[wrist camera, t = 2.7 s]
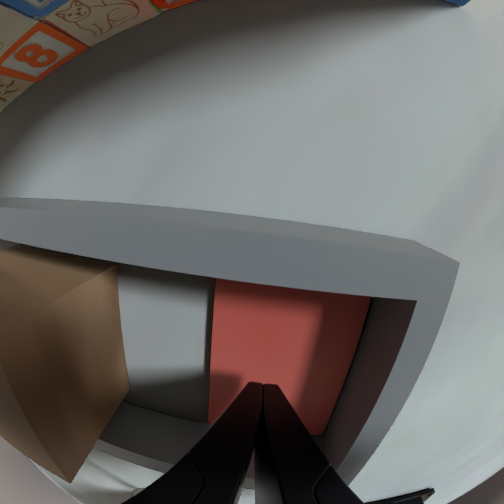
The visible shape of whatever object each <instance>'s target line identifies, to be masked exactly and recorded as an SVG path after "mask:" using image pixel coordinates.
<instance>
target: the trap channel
mask: <svg viewBox="0 0 504 504" xmlns="http://www.w3.org/2000/svg"><path fill="white" fill-rule="evenodd" d="M0 239H2V240H7V241H11V242H16V243H21V244H25V245H30V246H35V247H40V248H45V249H50V250H55V251H60V252H65V253H70V254H75V255H80V256H86V257H91V258H97V259H102V260H108V261H113V262H119V263H125V264H131V265H137V266H143V267H149V268H155V269H161V270H167V271H174V272H180V273H186V274H193V275H200V276H207V277H213V278H216V285H215V298H214V313H213V328H212V345H211V364H210V386H209V413H208V424H205V423H200V422H195V421H190V420H186V419H181V418H177V417H173V416H169V415H165V414H161V413H158V412H154V411H151V410H147V409H144V408H140V407H137V406H134V405H131V404H128V403H125V402H121V404H120V405H119V407H118V409H117V410H116V412H115V413H114V415H113V416H112V418H111V419H110V421H109V423H108V424H107V426H106V427H105V429H104V430H103V432H102V434H101V435H100V437H99V438H98V440H97V442H96V443H95V445H94V446H93V447H94V448H96V449H99V450H101V451H103V452H106V453H108V454H110V455H113V456H115V457H118V458H121V459H123V460H126V461H129V462H131V463H134V464H137V465H140V466H143V467H146V468H149V469H153V470H156V471H159V472H163V473H166V472H167V471H168V470H170V469H171V468H172V467H173V466H174V465H175V464H176V463H177V462H178V461H179V460H180V459H181V458H182V457H183V456H184V455H185V454H186V453H187V452H188V451H189V450H190V449H191V448H192V447H193V445H194V444H195V443H196V442H197V441H198V440H199V439H200V438H201V437H202V436H203V435H204V433H205V432H206V431H207V430H208V429H209V428H210V427H211V426H212V425H213V423H214V422H215V421H216V420H217V419H218V418H219V417H220V415H221V414H222V413H223V412H224V411H225V410H226V408H227V407H228V406H229V405H230V404H231V402H232V401H233V400H234V399H235V398H236V396H237V395H238V394H239V393H240V392H241V390H242V389H243V388H244V387H245V386H246V384H247V383H248V382H250V381H252V382H260V383H262V384H263V385H264V384H265V383H269V384H277V385H278V386H279V387H280V389H281V390H282V392H283V393H284V395H285V396H286V398H287V400H288V401H289V403H290V404H291V406H292V407H293V409H294V410H295V412H296V413H297V415H298V416H299V418H300V419H301V421H302V422H303V424H304V425H305V427H306V428H307V430H308V431H309V433H310V434H311V436H312V437H313V439H314V440H315V442H316V443H317V444H318V446H319V447H320V449H321V450H322V452H323V453H324V454H325V456H326V457H327V459H328V460H329V462H330V463H331V465H332V466H333V467H334V468H335V470H336V471H337V473H338V474H339V475H340V477H341V478H342V479H343V480H344V482H345V483H346V484H347V485H349V484H350V483H351V482H352V480H353V479H354V478H355V477H356V476H357V474H358V473H359V472H360V470H361V469H362V468H363V467H364V465H365V464H366V463H367V461H368V460H369V458H370V457H371V456H372V454H373V453H374V452H375V450H376V449H377V447H378V446H379V444H380V443H381V441H382V440H383V438H384V437H385V435H386V434H387V432H388V431H389V429H390V427H391V426H392V424H393V423H394V421H395V419H396V418H397V416H398V414H399V413H400V411H401V409H402V407H403V406H404V404H405V402H406V400H407V398H408V396H409V395H410V393H411V391H412V389H413V387H414V385H415V383H416V381H417V379H418V377H419V375H420V373H421V371H422V369H423V366H424V364H425V362H426V360H427V358H428V355H429V353H430V351H431V348H432V346H433V343H434V341H435V339H436V336H437V333H438V331H439V328H440V326H441V323H442V320H443V317H444V314H445V312H446V309H447V306H448V302H449V299H450V296H451V293H452V290H453V286H454V283H455V279H456V275H457V272H458V268H459V264H460V262H458V261H456V260H454V259H452V258H450V257H448V256H445V255H443V254H441V253H439V252H437V251H435V250H433V249H431V248H429V247H426V246H424V245H422V244H420V243H418V242H416V241H412V240H407V239H401V238H396V237H390V236H384V235H378V234H372V233H366V232H360V231H353V230H347V229H341V228H334V227H327V226H321V225H314V224H307V223H299V222H292V221H285V220H277V219H270V218H262V217H254V216H245V215H237V214H228V213H219V212H210V211H201V210H191V209H181V208H170V207H160V206H148V205H136V204H123V203H110V202H95V201H78V200H60V199H37V198H1V197H0ZM371 296H372V297H373V299H372V303H371V307H370V310H369V314H368V317H367V321H366V324H365V327H364V331H363V334H362V337H361V340H360V343H359V346H358V349H357V352H356V355H355V358H354V361H353V364H352V366H351V369H350V372H349V374H348V377H347V380H346V382H345V385H344V387H343V390H342V392H341V395H340V397H339V400H338V402H337V405H336V407H335V409H334V412H333V414H332V416H331V418H330V421H329V423H328V425H327V427H326V429H325V432H324V434H323V435H322V433H323V431H324V428H325V426H326V424H327V422H328V420H329V417H330V415H331V413H332V410H333V408H334V406H335V403H336V401H337V398H338V396H339V394H340V391H341V388H342V386H343V383H344V381H345V378H346V375H347V373H348V370H349V367H350V364H351V362H352V359H353V356H354V353H355V350H356V347H357V344H358V341H359V338H360V335H361V331H362V328H363V325H364V321H365V318H366V315H367V311H368V307H369V304H370V300H371ZM188 453H189V452H188ZM331 465H330V466H331ZM243 488H246V489H255V473H254V450H253V454H252V458H251V461H250V465H249V468H248V472H247V475H246V479H245V482H244V485H243Z"/></svg>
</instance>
